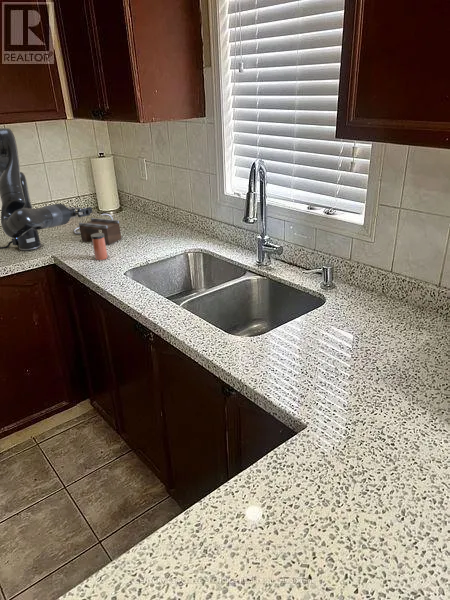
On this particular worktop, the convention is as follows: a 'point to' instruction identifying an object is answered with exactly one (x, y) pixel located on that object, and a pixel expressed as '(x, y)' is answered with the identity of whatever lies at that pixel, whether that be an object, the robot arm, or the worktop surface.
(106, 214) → the hook
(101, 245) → the spice jar
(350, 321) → the worktop surface
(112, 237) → the rail rack
